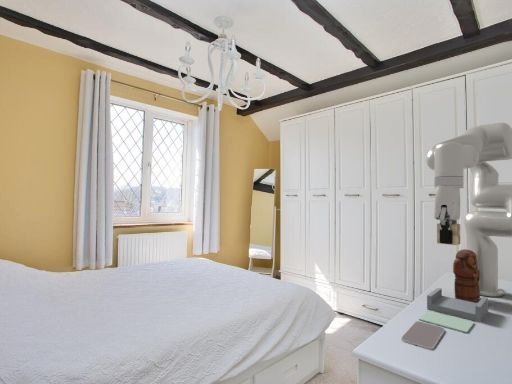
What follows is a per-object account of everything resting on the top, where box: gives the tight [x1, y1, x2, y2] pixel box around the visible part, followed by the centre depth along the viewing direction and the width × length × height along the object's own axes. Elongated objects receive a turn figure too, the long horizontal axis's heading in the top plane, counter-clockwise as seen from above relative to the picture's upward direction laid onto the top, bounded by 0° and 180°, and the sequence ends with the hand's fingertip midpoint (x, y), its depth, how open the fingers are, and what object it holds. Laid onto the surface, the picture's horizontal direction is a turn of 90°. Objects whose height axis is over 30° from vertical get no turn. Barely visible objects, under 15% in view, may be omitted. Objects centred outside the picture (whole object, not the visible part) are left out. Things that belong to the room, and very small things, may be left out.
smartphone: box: [400, 320, 446, 351], centre depth 79 cm, size 7×1×15 cm
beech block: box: [436, 222, 461, 246], centre depth 90 cm, size 5×5×6 cm
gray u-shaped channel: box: [426, 287, 489, 323], centre depth 97 cm, size 12×14×4 cm
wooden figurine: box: [452, 248, 481, 303], centre depth 107 cm, size 12×6×18 cm, turn 129°
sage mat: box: [418, 310, 475, 334], centre depth 88 cm, size 9×12×1 cm
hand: (448, 242), depth 90 cm, fingers closed on beech block, 5 cm apart
